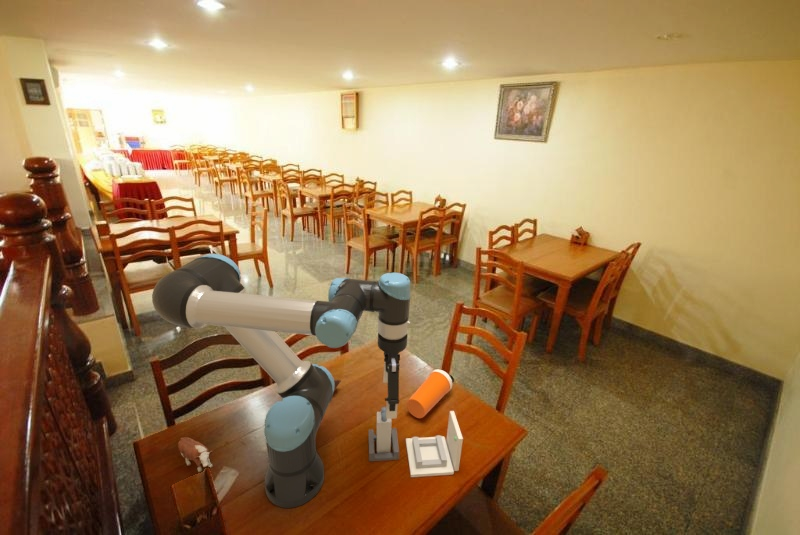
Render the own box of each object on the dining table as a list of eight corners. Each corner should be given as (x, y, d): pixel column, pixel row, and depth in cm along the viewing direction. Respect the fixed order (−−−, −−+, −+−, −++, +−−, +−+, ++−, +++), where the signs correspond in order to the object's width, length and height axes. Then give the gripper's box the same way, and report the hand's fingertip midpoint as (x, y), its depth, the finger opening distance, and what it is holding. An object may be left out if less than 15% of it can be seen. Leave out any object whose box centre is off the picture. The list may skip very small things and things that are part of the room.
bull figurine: (206, 484, 92) (200, 462, 89) (178, 459, 98) (172, 437, 95) (221, 471, 95) (217, 449, 92) (193, 448, 102) (188, 426, 99)
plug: (376, 454, 102) (377, 417, 97) (376, 442, 106) (376, 406, 101) (390, 453, 103) (391, 416, 98) (389, 441, 106) (390, 405, 101)
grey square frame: (369, 461, 100) (369, 453, 99) (368, 436, 108) (368, 429, 107) (398, 459, 101) (399, 451, 100) (396, 435, 109) (396, 428, 108)
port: (410, 477, 96) (413, 444, 91) (405, 441, 107) (407, 410, 103) (459, 474, 97) (463, 441, 93) (449, 438, 108) (453, 408, 104)
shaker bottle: (429, 406, 109) (458, 373, 125) (406, 391, 114) (436, 361, 129) (424, 426, 113) (453, 391, 129) (402, 410, 118) (432, 379, 133)
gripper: (413, 363, 78) (408, 434, 86) (402, 308, 101) (398, 369, 109) (380, 363, 77) (377, 435, 85) (376, 308, 100) (374, 369, 108)
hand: (389, 398), depth 97 cm, fingers open, 13 cm apart
